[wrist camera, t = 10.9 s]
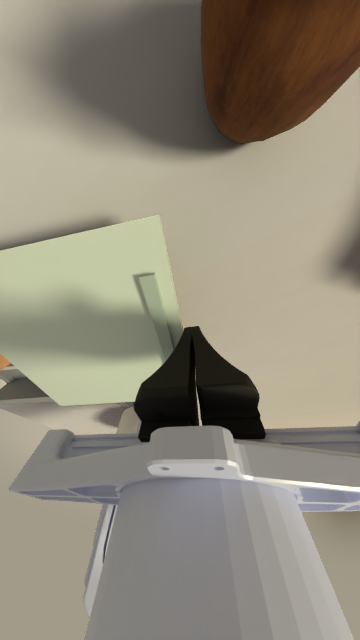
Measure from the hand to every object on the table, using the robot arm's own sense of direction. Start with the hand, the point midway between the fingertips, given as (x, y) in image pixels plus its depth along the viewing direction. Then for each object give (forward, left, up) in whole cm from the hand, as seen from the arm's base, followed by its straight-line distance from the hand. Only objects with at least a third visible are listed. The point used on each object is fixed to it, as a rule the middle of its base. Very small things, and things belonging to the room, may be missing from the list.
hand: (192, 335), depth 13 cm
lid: (0, +10, 0) cm, 10 cm away
